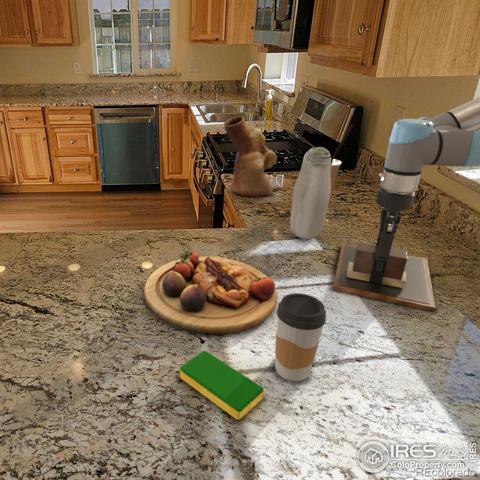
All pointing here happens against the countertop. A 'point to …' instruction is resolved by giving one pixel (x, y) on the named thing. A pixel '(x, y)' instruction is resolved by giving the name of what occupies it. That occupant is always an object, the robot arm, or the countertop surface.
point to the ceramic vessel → (249, 158)
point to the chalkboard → (411, 295)
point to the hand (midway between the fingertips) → (375, 276)
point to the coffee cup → (298, 335)
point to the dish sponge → (221, 384)
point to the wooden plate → (210, 294)
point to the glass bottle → (311, 194)
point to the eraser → (364, 262)
